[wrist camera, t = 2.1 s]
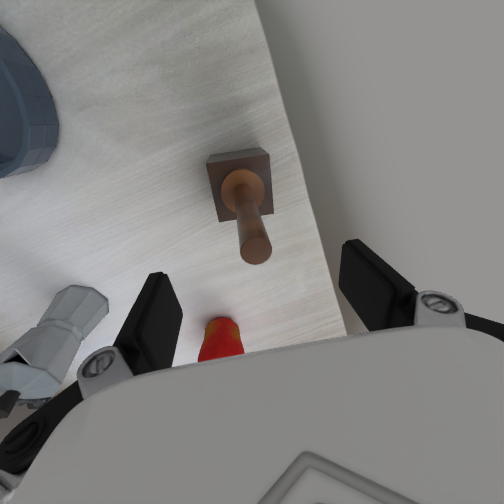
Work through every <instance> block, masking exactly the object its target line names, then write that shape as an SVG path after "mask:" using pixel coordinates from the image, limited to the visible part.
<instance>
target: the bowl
mask: <svg viewBox="0 0 504 504" xmlns="http://www.w3.org/2000/svg"><path fill="white" fill-rule="evenodd" d="M57 134H58V120H57V116H56V111H55V107H54V102H53V99H52V96H51V94H50V92H49V90H48V88H47V86H46V84H45V82H44V80H43V78H42V76H41V74H40V72H39V70H38V69H37V67H36V66H35V65H34V63H33V62H32V61H31V60H30V58H29V57H28V56H27V54H26V53H25V52H24V51H23V49H22V48H21V47H20V46H19V44H18V43H17V42H16V40H15V39H14V38H13V37H11V36H10V35H9V34H8V33H7V32H6V31H5V30H3V29H2V28H1V27H0V179H1V178H5V177H9V176H13V175H17V174H21V173H25V172H29V171H32V170H34V169H35V168H37V167H39V166H40V165H42V164H43V163H45V162H46V161H48V159H49V157H50V156H51V154H52V152H53V151H54V149H55V147H56V143H57Z"/></svg>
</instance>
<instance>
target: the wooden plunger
mask: <svg viewBox="0 0 504 504" xmlns="http://www.w3.org/2000/svg"><path fill="white" fill-rule="evenodd" d="M264 194H265V189H264V184H263V182H262V180H261V178H260V177H259V176H258V174H256V173H255V172H254V171H252V170H250V169H246V168H238V169H235V170H233V171H231V172H229V173H228V174H227V175H226V176H225V178H224V179H223V182H222V185H221V197H222V200H223V202H224V204H225V205H226V206H227V207H228V208H229V209H230V210H231V211H233V212H236V216H237V226H238V236H239V245H240V254H241V257H242V259H243V260H244V261H245V262H247V263H249V264H253V265H257V264H261V263H264V262H265V261H267V260H268V259H269V257H270V256H271V253H272V246H271V243H270V241H269V238H268V235H267V232H266V229H265V227H264V224H263V221H262V218H261V216H260V213H259V210H258V207H259V206H260V204H261V203H262V201H263V199H264Z"/></svg>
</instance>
